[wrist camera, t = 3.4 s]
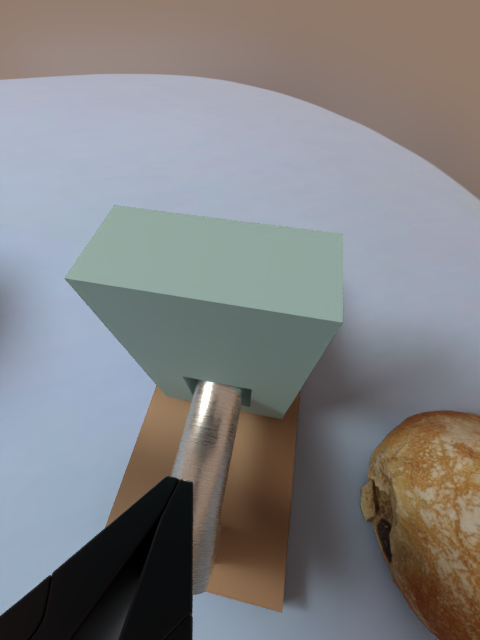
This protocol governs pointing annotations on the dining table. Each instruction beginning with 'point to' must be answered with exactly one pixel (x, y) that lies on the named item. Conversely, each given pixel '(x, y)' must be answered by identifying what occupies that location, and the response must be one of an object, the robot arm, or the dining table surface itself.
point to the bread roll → (431, 517)
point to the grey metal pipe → (208, 467)
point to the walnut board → (229, 495)
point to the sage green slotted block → (215, 300)
